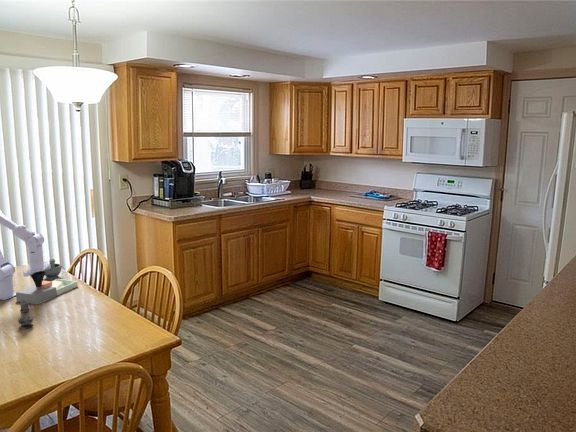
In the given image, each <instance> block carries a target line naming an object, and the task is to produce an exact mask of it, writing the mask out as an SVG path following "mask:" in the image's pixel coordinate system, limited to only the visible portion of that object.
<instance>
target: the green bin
mask: <svg viewBox="0 0 576 432" xmlns="http://www.w3.org/2000/svg"><path fill="white" fill-rule="evenodd" d="M50 281H51V282H53V281H61V282H63V284H64V285H63V286H62V287H61V288H59V289H56V296H55V297H57V296H60V295H63V294H64V293H66V292H67V293H68V292H70V291H72V290H74V289H76V288H78V287H79V286H78V281H77V280H70V279H63V278H57V279H54V280H50ZM73 288H74V289H73Z"/></svg>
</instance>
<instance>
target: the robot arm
mask: <svg viewBox="0 0 576 432" xmlns="http://www.w3.org/2000/svg"><path fill="white" fill-rule="evenodd" d="M0 225H2V226H4V227H5V228H7V229H9V230H11V231H12V234H13V235H14V236H15V237H17V238H18V239H19V240H21V241H23V242H24V243H25V246H26V247H27V248H28V255H29V256H28V258H29V267H30V268H29V269H27V270H25V271H24V272H23V275H22V276H23V277H25V278H26V277H29V276H30V278H31V279H32V281H33V283H34V285H36V287H41V285H42V281H44V278H45V274H46V272H45V271H44V270H46V269H50V268H51V265H50V263H47V264H46V263H45V264H44V251H43V244H44V242H45V238H44V236H43V234H41V233H36V232H35V231H33V230H31V229H29V228H28V227H27V225H26V224H24V225H23V224H17V223H16V222H14V221H13V220H11V218H9V217H8V216H7V215H5V214H4V213H3V212H2V210H1V209H0ZM15 272H16V269H15V266H14V265H13V264H12V263H11V262H10V260H9V259H8V258H5V257H4V255H3V253H2V251H1V250H0V300H3V301H5V300H8V299H11V298H13V297H16V292H15V291H14V280H13V276H14V274H15Z"/></svg>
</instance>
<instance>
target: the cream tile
mask: <svg viewBox="0 0 576 432" xmlns="http://www.w3.org/2000/svg"><path fill="white" fill-rule="evenodd" d="M52 281H53V282H52V286H51V287H56V289H59V288H61V287H62V286H63V285H64V284H63V282H61V281H54V280H52Z"/></svg>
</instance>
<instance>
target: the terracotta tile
mask: <svg viewBox="0 0 576 432" xmlns="http://www.w3.org/2000/svg"><path fill="white" fill-rule="evenodd" d="M51 281H52V280H43V281H42V285H41V287H36V288H43V289H45V288H47V287H50V286H52V282H51Z"/></svg>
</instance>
